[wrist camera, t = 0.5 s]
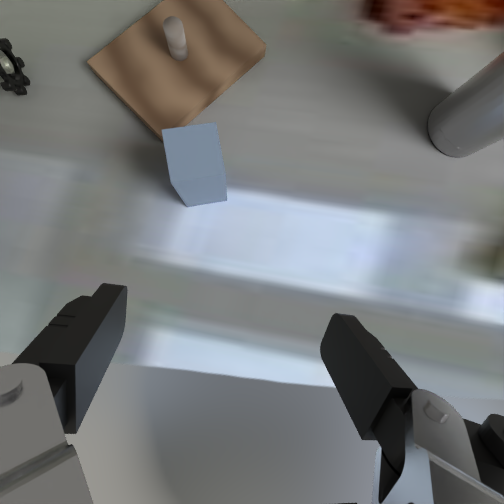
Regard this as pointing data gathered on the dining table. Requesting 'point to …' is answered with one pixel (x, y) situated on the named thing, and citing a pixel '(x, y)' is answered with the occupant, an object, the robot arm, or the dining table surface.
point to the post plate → (178, 60)
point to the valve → (12, 70)
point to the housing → (196, 163)
